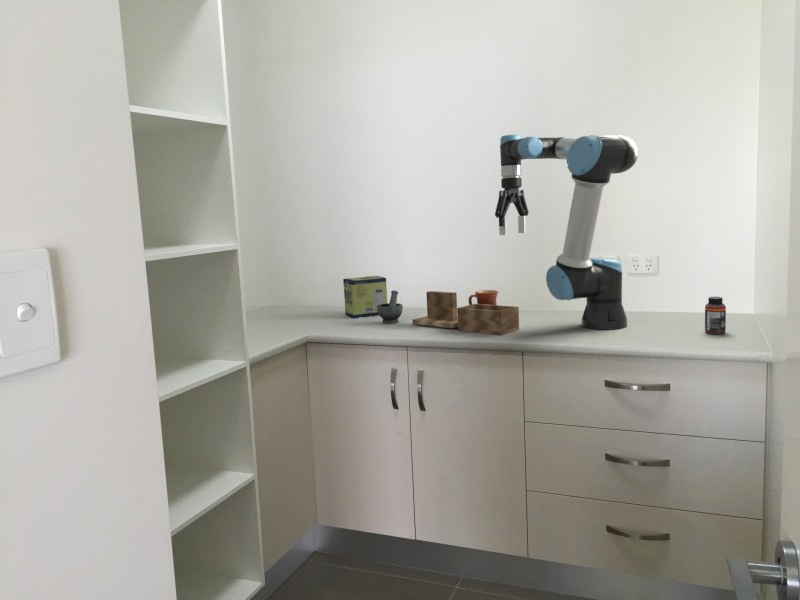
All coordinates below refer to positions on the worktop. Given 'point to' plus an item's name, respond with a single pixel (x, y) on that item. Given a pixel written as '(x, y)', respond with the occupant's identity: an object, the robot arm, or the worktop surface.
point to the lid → (440, 310)
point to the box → (488, 319)
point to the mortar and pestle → (390, 310)
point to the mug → (485, 297)
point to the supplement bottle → (715, 316)
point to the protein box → (364, 295)
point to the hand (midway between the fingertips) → (512, 234)
